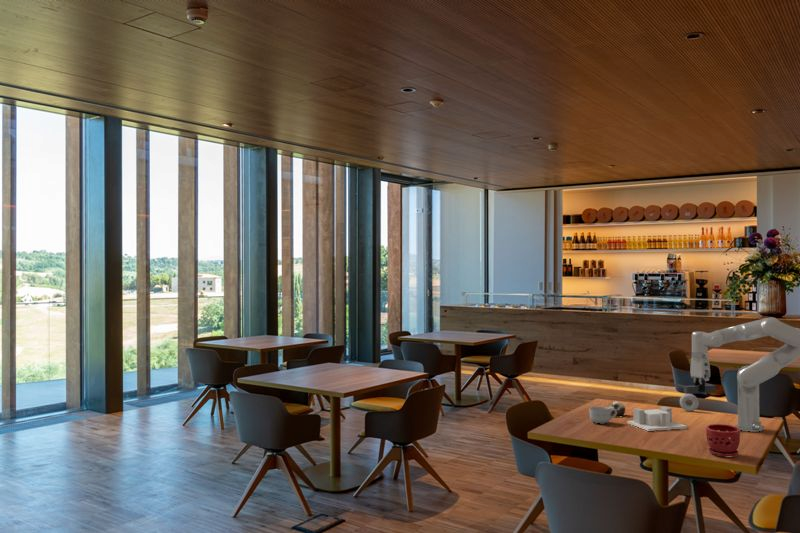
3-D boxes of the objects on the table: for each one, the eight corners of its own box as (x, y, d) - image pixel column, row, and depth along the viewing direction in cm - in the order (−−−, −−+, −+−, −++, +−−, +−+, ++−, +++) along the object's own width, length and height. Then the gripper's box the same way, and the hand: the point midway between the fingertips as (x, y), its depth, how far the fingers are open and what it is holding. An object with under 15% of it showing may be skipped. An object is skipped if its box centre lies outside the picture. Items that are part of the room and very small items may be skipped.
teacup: (588, 424, 340) (588, 409, 340) (590, 419, 350) (589, 405, 350) (616, 426, 335) (616, 410, 335) (617, 421, 345) (617, 406, 345)
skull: (603, 415, 356) (603, 399, 363) (604, 425, 363) (604, 408, 370) (627, 416, 353) (626, 399, 359) (627, 425, 360) (626, 409, 366)
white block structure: (686, 428, 328) (686, 412, 328) (648, 431, 323) (648, 414, 323) (663, 421, 346) (663, 405, 346) (627, 423, 340) (627, 407, 340)
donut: (679, 410, 370) (679, 393, 370) (680, 409, 373) (680, 392, 373) (698, 412, 365) (698, 394, 365) (699, 411, 368) (699, 393, 368)
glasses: (715, 392, 338) (715, 385, 338) (687, 393, 334) (687, 386, 334) (700, 388, 350) (700, 381, 350) (672, 389, 346) (672, 383, 346)
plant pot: (701, 450, 289) (701, 423, 289) (733, 451, 288) (732, 424, 288) (713, 459, 276) (712, 430, 276) (745, 459, 275) (745, 431, 275)
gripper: (716, 357, 331) (717, 393, 330) (695, 353, 346) (695, 388, 346) (704, 357, 329) (704, 394, 329) (683, 353, 345) (683, 388, 345)
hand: (699, 390), depth 337 cm, fingers closed on glasses, 2 cm apart
